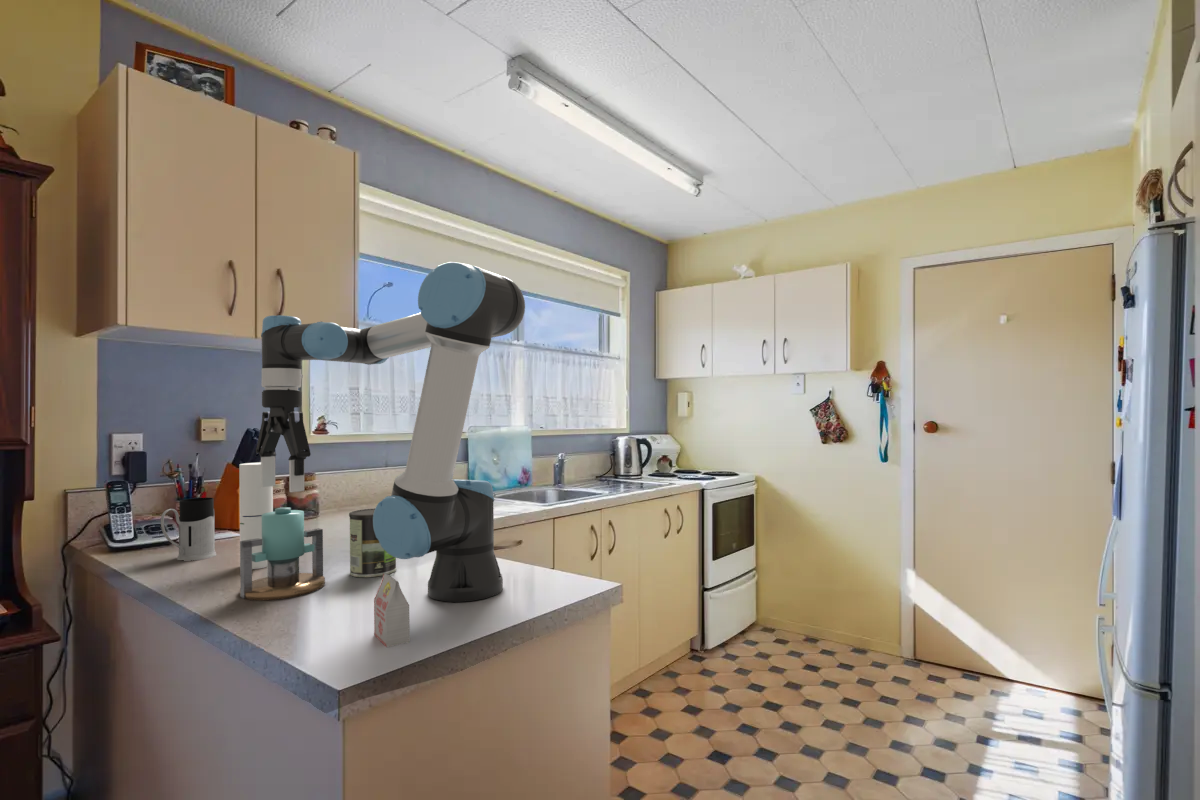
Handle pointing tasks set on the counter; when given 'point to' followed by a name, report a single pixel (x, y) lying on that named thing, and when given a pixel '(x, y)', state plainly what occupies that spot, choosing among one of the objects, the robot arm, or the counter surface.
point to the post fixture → (281, 573)
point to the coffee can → (367, 547)
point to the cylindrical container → (253, 505)
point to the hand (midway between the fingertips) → (282, 489)
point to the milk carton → (391, 613)
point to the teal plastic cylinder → (282, 535)
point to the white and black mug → (194, 529)
